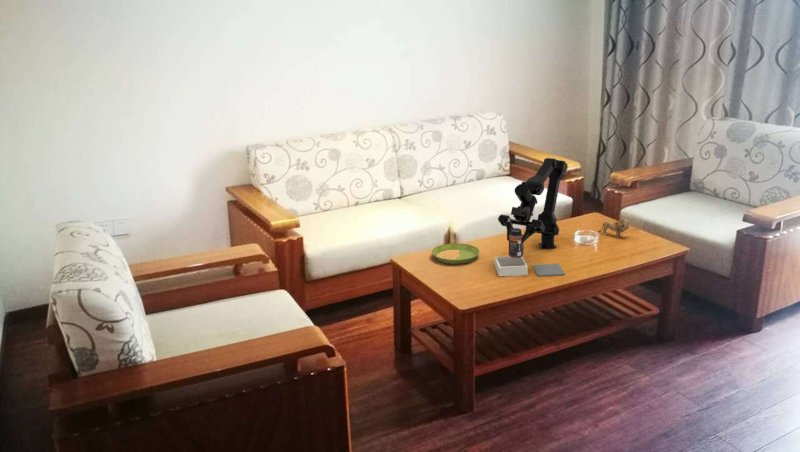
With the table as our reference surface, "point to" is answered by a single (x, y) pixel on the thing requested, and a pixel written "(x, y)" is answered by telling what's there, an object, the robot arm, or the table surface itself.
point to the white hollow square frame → (511, 266)
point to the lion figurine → (615, 227)
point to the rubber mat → (548, 270)
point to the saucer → (465, 253)
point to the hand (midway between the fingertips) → (514, 241)
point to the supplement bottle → (516, 243)
